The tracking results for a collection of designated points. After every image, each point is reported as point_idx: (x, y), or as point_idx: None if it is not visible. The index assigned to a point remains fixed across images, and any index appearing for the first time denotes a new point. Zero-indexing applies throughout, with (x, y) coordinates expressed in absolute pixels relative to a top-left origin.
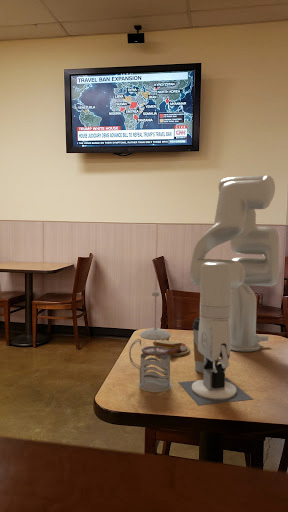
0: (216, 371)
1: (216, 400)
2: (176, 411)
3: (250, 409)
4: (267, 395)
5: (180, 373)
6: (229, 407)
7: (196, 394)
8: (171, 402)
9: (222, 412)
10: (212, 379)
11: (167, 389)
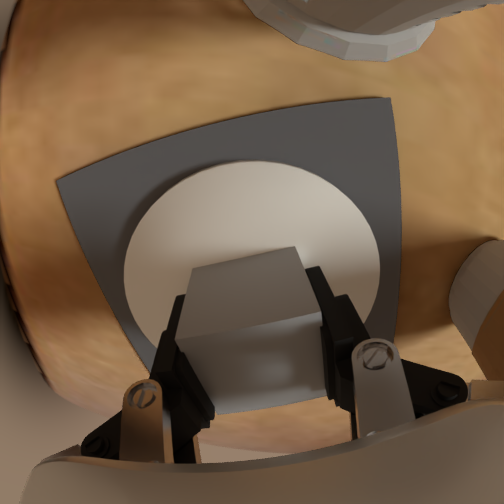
0: (129, 401)
1: (121, 277)
2: (26, 77)
3: (102, 367)
4: (225, 427)
5: (497, 159)
6: (93, 311)
7: (181, 180)
8: (110, 35)
9: (47, 275)
10: (167, 331)
11: (268, 5)
